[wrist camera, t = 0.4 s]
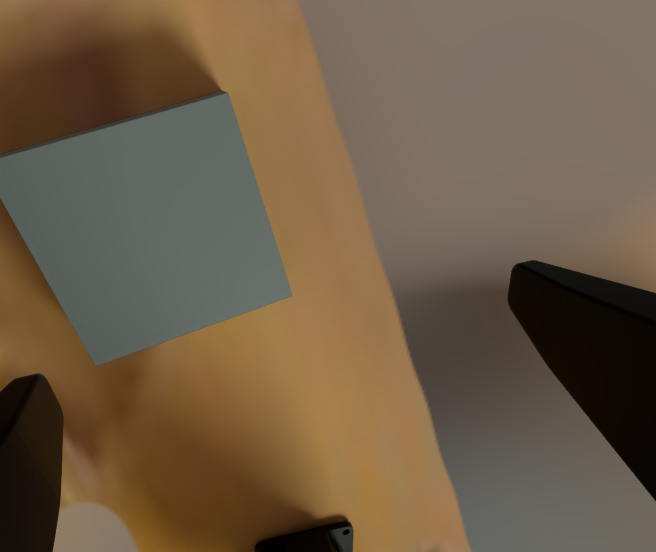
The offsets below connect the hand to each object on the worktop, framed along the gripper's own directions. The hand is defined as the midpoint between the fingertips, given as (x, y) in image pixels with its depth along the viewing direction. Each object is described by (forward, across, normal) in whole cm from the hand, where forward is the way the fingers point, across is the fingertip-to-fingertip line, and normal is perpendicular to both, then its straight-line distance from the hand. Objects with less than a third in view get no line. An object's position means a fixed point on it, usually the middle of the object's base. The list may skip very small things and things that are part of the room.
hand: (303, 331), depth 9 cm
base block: (+15, +4, +3) cm, 15 cm away
